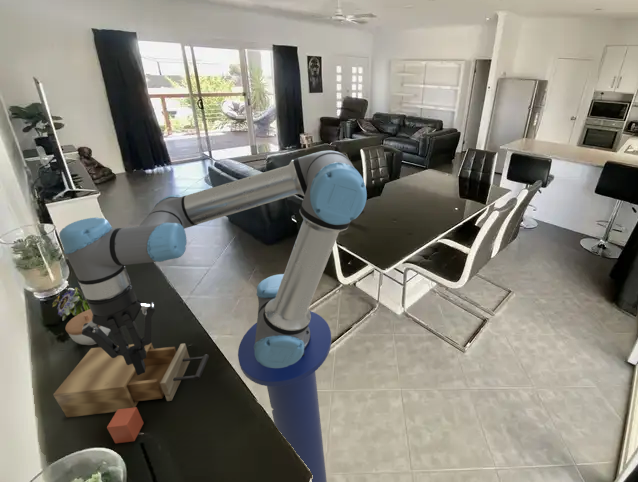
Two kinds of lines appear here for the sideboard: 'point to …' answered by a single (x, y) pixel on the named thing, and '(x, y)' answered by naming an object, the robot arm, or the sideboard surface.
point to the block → (125, 425)
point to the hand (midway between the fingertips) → (141, 369)
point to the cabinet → (97, 385)
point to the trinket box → (76, 327)
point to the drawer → (163, 373)
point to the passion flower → (71, 303)
